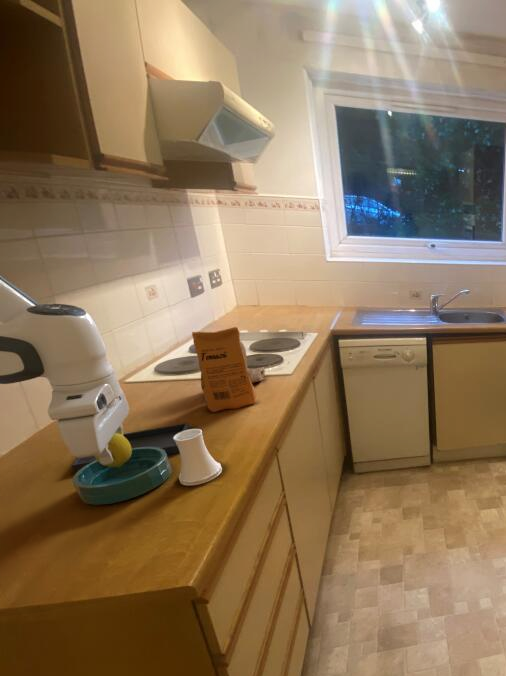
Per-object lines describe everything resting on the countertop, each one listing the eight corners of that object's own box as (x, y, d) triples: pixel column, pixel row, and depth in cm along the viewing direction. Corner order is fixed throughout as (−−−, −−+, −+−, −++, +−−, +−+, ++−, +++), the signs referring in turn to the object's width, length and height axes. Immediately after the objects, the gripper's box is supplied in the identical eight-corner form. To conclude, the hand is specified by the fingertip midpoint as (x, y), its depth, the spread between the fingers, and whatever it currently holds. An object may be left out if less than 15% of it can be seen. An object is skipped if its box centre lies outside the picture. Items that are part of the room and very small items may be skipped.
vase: (221, 479, 91) (208, 437, 87) (177, 489, 88) (162, 447, 84) (222, 461, 97) (210, 422, 93) (182, 471, 94) (167, 431, 90)
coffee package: (209, 401, 126) (187, 328, 118) (257, 392, 132) (239, 322, 123) (205, 415, 118) (182, 337, 110) (257, 405, 124) (238, 331, 115)
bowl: (69, 515, 81) (59, 495, 79) (96, 474, 93) (88, 456, 91) (164, 493, 87) (157, 475, 85) (178, 457, 99) (172, 440, 97)
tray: (74, 473, 93) (71, 465, 92) (94, 446, 103) (91, 439, 102) (182, 452, 101) (179, 444, 100) (190, 429, 111) (188, 422, 110)
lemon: (99, 478, 85) (84, 442, 81) (104, 464, 89) (89, 430, 86) (135, 469, 87) (122, 434, 84) (138, 456, 92) (125, 423, 88)
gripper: (87, 374, 89) (110, 433, 94) (42, 416, 72) (74, 485, 77) (126, 370, 91) (146, 427, 97) (91, 409, 74) (118, 476, 80)
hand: (114, 453), depth 87 cm, fingers closed on lemon, 5 cm apart
